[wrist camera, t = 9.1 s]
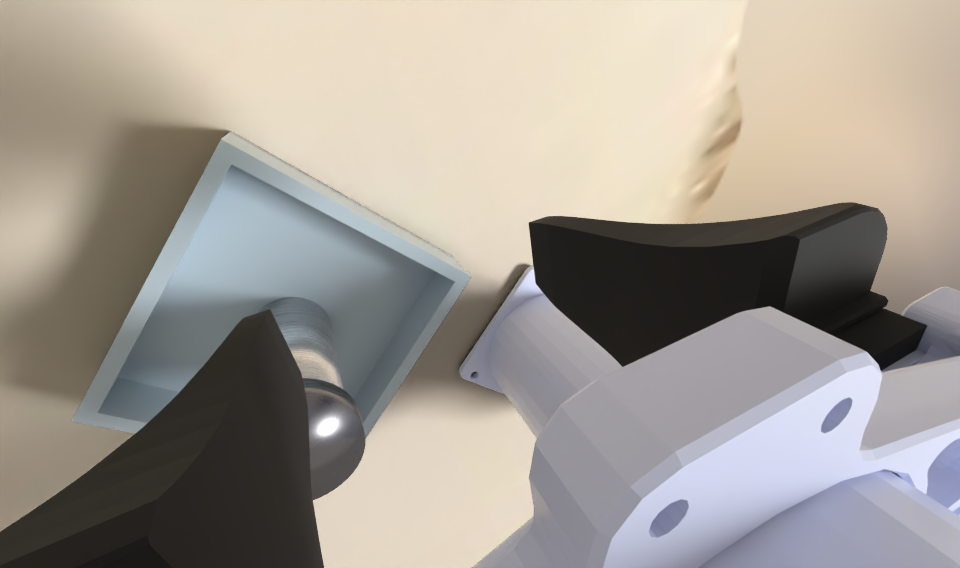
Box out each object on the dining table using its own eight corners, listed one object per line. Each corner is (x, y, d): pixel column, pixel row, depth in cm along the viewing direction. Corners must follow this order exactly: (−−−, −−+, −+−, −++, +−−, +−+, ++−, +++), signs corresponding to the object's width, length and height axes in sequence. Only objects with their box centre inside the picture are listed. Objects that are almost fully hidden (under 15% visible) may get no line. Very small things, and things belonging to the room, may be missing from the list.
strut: (348, 296, 21) (379, 399, 14) (329, 373, 22) (349, 501, 15) (248, 282, 19) (225, 394, 12) (232, 367, 20) (205, 513, 13)
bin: (451, 255, 23) (471, 276, 20) (337, 433, 25) (342, 473, 22) (230, 131, 17) (221, 139, 15) (99, 376, 19) (70, 421, 16)
